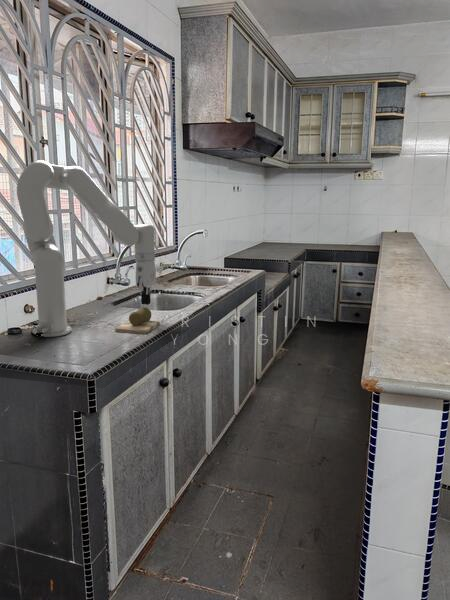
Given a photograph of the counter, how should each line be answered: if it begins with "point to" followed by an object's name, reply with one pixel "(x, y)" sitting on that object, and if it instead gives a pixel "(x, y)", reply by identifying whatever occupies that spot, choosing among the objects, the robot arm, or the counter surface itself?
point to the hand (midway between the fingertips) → (145, 303)
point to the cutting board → (137, 327)
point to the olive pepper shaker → (140, 316)
